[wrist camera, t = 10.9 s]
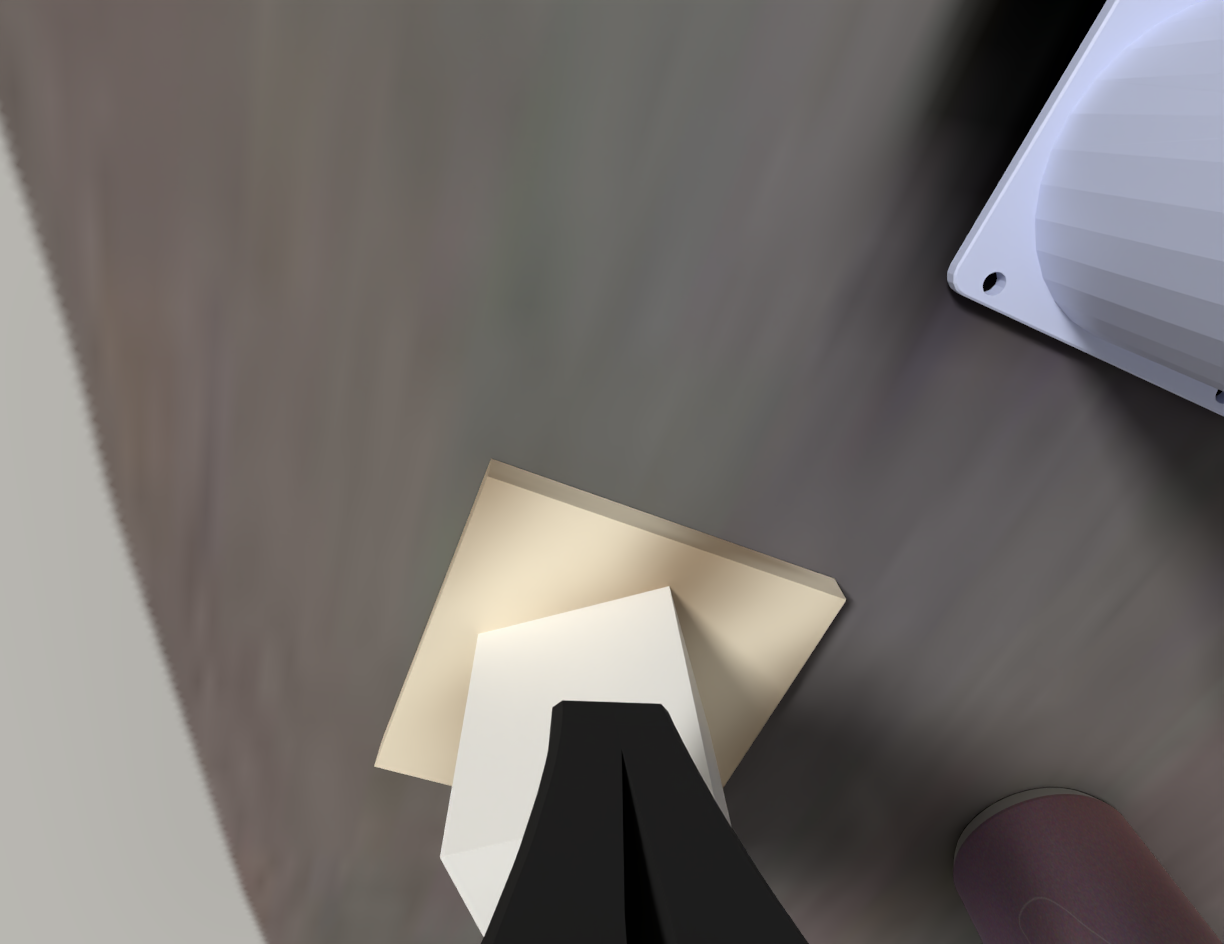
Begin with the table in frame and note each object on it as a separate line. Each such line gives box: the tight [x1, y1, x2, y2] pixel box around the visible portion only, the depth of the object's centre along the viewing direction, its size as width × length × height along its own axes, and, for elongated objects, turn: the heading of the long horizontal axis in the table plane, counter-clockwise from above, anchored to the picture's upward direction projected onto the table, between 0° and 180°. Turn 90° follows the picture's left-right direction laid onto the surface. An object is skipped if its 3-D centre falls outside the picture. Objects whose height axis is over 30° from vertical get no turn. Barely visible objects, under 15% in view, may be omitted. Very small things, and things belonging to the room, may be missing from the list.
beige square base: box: [374, 459, 846, 787], centre depth 19 cm, size 10×10×6 cm
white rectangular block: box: [440, 586, 731, 937], centre depth 18 cm, size 5×5×7 cm
